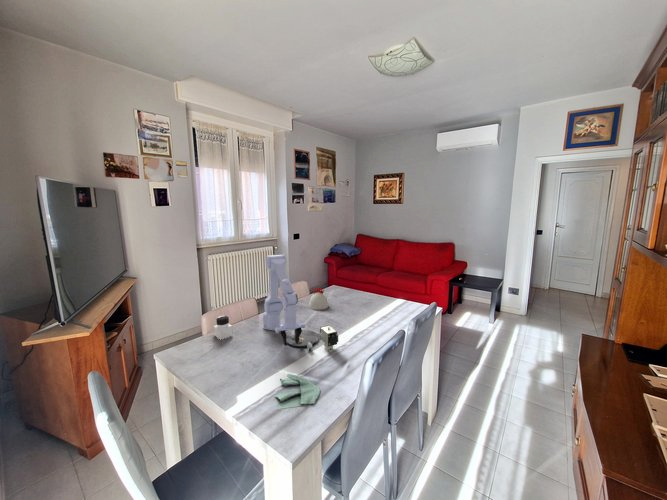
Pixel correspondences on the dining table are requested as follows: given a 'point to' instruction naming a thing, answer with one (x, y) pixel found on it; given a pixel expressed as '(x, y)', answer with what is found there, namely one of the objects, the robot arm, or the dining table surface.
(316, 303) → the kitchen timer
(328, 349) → the pneumatic valve
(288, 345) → the base plate
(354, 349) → the dining table surface
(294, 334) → the cover
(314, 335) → the turntable
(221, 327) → the medicine bottle
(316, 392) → the cloth
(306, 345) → the silver oval knob
